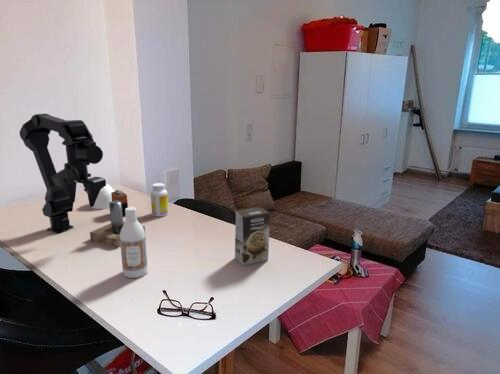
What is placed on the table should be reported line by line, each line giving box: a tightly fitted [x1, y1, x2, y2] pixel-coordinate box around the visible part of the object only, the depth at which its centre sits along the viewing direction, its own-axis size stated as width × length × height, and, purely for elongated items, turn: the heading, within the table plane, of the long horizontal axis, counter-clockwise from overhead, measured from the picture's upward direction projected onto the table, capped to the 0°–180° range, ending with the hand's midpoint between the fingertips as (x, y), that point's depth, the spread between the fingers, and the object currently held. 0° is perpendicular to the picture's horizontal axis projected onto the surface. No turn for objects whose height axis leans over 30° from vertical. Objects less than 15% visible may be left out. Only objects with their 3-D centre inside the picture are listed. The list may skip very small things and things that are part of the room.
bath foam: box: [120, 206, 148, 279], centre depth 107 cm, size 7×7×20 cm
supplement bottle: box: [150, 182, 169, 218], centre depth 154 cm, size 7×7×13 cm
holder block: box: [89, 220, 146, 249], centre depth 134 cm, size 13×13×3 cm
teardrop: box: [90, 183, 115, 210], centre depth 164 cm, size 11×11×12 cm
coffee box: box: [234, 206, 271, 267], centre depth 117 cm, size 9×6×16 cm
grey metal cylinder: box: [109, 201, 124, 235], centre depth 132 cm, size 4×4×13 cm
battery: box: [111, 189, 129, 217], centre depth 154 cm, size 4×7×10 cm, turn 38°
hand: (82, 204), depth 128 cm, fingers open, 9 cm apart
